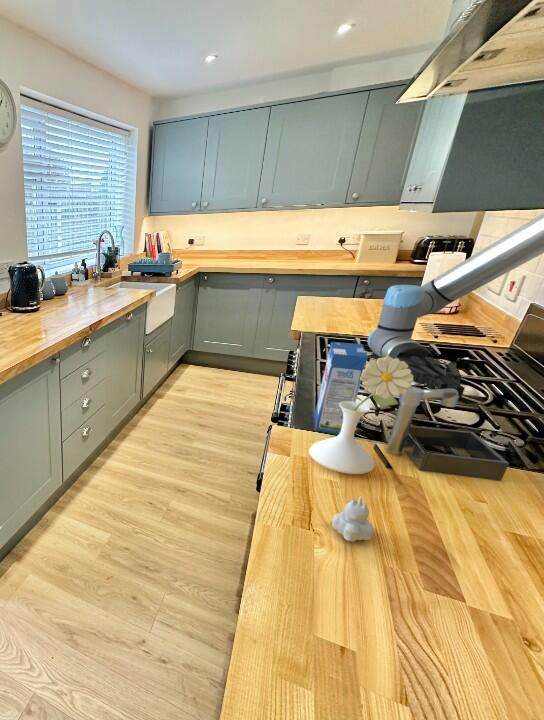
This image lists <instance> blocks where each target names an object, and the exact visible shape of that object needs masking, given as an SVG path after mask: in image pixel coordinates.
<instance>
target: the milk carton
mask: <svg viewBox="0 0 544 720" xmlns="http://www.w3.org/2000/svg"><path fill="white" fill-rule="evenodd" d="M368 358H369V357H368V354H367V351H366V349H365V347H364V344H362V343H351V342H349V343H348V342H341V341H340V342H338V341H330V346H329V350H328V354H327V358H326V363H325V367H324V372H323V375H322V380H321V384H320V389H319V394H318V396H317V397H318V398H317V402H316V406H315V410H314V424H315V427H314V428H315V431H317V432H323V433H329V434H335V435H339V433H340V432H341V429H342V425H343V411H342V409H341V407H340V405H339V403H340V402H343V401H352V402H357V400H358V399H357V398H355V397H353V396H350V395H348V394H347V393H345V392H344V389H345V390H346V391H347V392H348V393H350V394H352V395H355V396H357V397H358V395H359V391H360V387H361V385H362V380H360V377H361V374H362V373H363V370H364V369H365V368H366V365H367V363H368Z"/></svg>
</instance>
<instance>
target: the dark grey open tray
mask: <svg viewBox="0 0 544 720" xmlns="http://www.w3.org/2000/svg"><path fill="white" fill-rule="evenodd" d="M423 445H425V446H435V447H442V448H452V449H461V450H465V451H466V453H468V454H469V457H468V456H463V455H455V454H454V455H453V454H446V453H445V454H444V453H438V452H428V451H427V449H426V448H424V446H423ZM402 452H404V453H405V455H406V456H407V457H408V459H409V460H410V461H411V463H412V464H413V465H414V467H416V469H417V470H418V471H420V472H428V473H435V474H444V475H450V476H451V475H452V476H459V477H468V478H473V479H474V478H475V479H482V480H489V481H498V482H502V480H503V478H504V476H505V473H506V471H507V469H508V467H509V465H510V463H509V462H508V461H507V460H505V458H504V457H502V456H501V455H500V454H499V453H498V452H497V451H496V450H494V449H493V448H492V447H491V446H490V445H488V443H486V442H485V441H484V440H483V439H482V438H480V436H479V435H478V434H476V433H475V432H474V431H467V430H459V429H458V430H457V429H448V428H438V427H428V426H420V425H419V426H418V425H411V426H410V429H409V432H408V435H407V438H406V441H405V444H404V447H403V450H402Z"/></svg>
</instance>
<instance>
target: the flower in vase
mask: <svg viewBox="0 0 544 720" xmlns="http://www.w3.org/2000/svg"><path fill="white" fill-rule="evenodd" d="M407 368H408V364H406V363H405V362H404V361H401V362H400V360H399V359H397V358H395V359H393V358H391V357H389V356H386V357H385V358H381V357H379V358H377V360H375V359H374V360H373V359H372V360H370V361H367V363H366V365H365V369H364V370H363V373H362V374H361V377H360V380H361V385H362V386H364V390H365V391H366V392H369V393H370V394H369V395H367V397H365V398H364V399H363V400H362V398H360V397H358V395H357V396H355V395H352V394H350V393H348V392H347V391H346V390H345V389H344V392H345V393H347V394H348V395H350V396H353V397H355V398H357V399H356V400H359V401H360V402H358V401H356V402H352V401H343V402H340V403H339V405H340V407H341V409H342V411H343V425H342V429H341V432H340V433H339V434H337V435H336V436H334V437H331V438H330V437H329V438H326V439H322V440H319V441H317V442H314V443H313V444H312V445H311V446H310V447H309V450H308V452H309V455H310V458H311V459H312V460H313V461H315V462H316V463H317V464H319V465H320V466H322V467H324V468H326V469H328V470H331V471H333V472H337V473H342V474H347V475H363V474H367V473H369V472H371V471H373V470H374V468H375V461H374V457H373V456H371V454H370V452H368V451H367V450H366V449H365V448H364V447H363V446H361V444H359V443H358V442H357V441H356V439H355V431H356V429H357V426H358V423H359V422H360V420H361V418H362V417H363V416H364V415H365V414H367V413H368V412H370V410H371V408H370V407H369V406H368V405H367V404H364V402H366V401H368V400H369V399H371V397H372V399H373V400H374V402H375V403H376V404H377V405H379V406H382V407H383V406H385V407H386V406H395V405H398V404H399V405H400V402H399V401H397V399H396V398H395V397H400V396H401V393H402V394H405V393H406V392H407V388H410V387H412V382H414V381H413V380H414V379H413V375H412V374H411V370H410V369H407Z"/></svg>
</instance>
